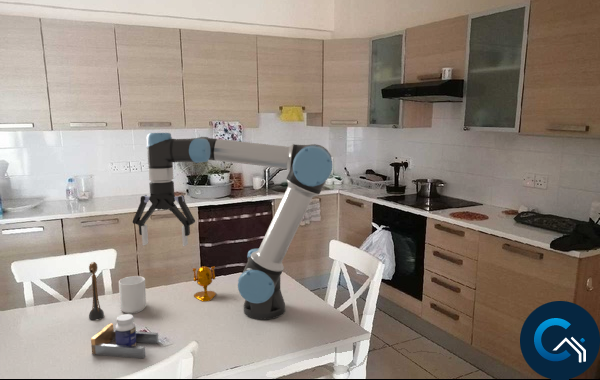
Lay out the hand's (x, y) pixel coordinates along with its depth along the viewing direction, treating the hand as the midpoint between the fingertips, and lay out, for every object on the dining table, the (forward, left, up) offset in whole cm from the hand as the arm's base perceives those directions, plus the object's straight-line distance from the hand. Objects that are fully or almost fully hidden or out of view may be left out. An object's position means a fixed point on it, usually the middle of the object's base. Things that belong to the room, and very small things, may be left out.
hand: (165, 244), depth 144 cm
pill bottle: (+6, +17, -28) cm, 33 cm away
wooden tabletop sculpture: (+27, -1, -28) cm, 39 cm away
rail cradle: (+6, +17, -28) cm, 33 cm away
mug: (+18, -11, -28) cm, 35 cm away
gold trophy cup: (-4, -25, -28) cm, 38 cm away
